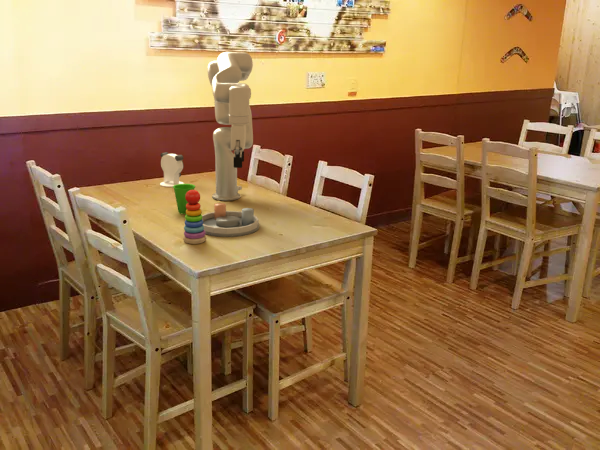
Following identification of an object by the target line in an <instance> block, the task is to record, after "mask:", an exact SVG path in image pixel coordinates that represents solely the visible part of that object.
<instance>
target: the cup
mask: <svg viewBox="0 0 600 450" xmlns="http://www.w3.org/2000/svg"><path fill="white" fill-rule="evenodd" d="M195 188H196V185H195V184H193V183H192V184H191V183H184V184H177V185H174V186H173V187H172V189H173V190H174V196H175V201H176V205H177V211H178V213H179V214H181V215H186V210H187V208H186V204H187V203H188V202H187V201H186V198H185V196H186V193H187V192H188V191H189V190H195Z"/></svg>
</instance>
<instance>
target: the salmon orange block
mask: <svg viewBox="0 0 600 450" xmlns="http://www.w3.org/2000/svg"><path fill="white" fill-rule="evenodd" d="M213 209H214V210H213V212H214V219H215V220H216V218H218V217H221V216H226V211H227V204H226V203H225V202H216V203H214V206H213Z"/></svg>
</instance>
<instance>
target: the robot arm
mask: <svg viewBox="0 0 600 450" xmlns="http://www.w3.org/2000/svg"><path fill="white" fill-rule="evenodd" d="M253 66H254V62H253V59H252V56H251V55H250V53H248V52H246V51H225V52H221V53H220V54H219V55H218V57H217V58H216V60H213V61H210V62H209V63H208V64H207V76H208V77H207V78H208V80H209V83H210V86H211V92H212V95H213V100H214V102H213V103H214V116H215V121H216V122H217V124H220V125H227V126H228V125H229V126H228V127H227V126H226V127H224V126H223V127H218V128H216V129H215V130H213V133H212V140H213V147H214V155H215V157H214V158H215V162H214V163H215V192H214V193H213V194H212V196H211V197H212V199H213V200H217V201H226V202H227V201H228V202H229V201H236V200H239V199H240V198H241V194H240V193H239V191H240V190H242V189H243V186H242V185H238V169H242V168H243V162H245V151H244V150H246V149H247V150H249V149H250V148H251V147H253V144H254V134H253V133H254V132H253V131H254V130H253V116H252V110H251V106H250V99H251V98H252V89H251V87H250V86H249V85H248V84H247V83H244V81H247V79H248V78H249V76H250V75H251V73H252V71H253ZM242 82H243V83H242ZM230 125H231V126H230Z"/></svg>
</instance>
